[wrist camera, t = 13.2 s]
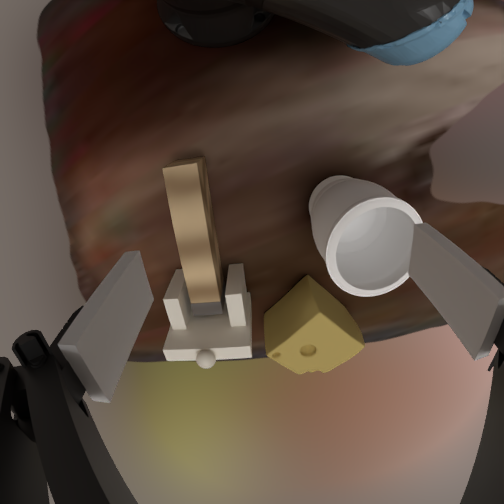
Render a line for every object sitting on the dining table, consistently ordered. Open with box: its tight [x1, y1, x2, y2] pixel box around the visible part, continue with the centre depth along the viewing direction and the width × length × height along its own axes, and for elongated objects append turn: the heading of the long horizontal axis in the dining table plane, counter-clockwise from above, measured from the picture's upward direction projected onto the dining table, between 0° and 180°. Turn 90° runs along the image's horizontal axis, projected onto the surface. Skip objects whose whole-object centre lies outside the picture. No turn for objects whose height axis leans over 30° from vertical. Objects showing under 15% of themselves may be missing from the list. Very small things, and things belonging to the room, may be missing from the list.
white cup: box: [309, 175, 423, 297], centre depth 33 cm, size 11×10×15 cm
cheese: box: [264, 275, 365, 374], centre depth 43 cm, size 10×11×10 cm
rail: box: [162, 156, 226, 316], centre depth 39 cm, size 20×4×6 cm, turn 6°
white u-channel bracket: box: [163, 263, 252, 368], centre depth 39 cm, size 7×11×14 cm, turn 96°
